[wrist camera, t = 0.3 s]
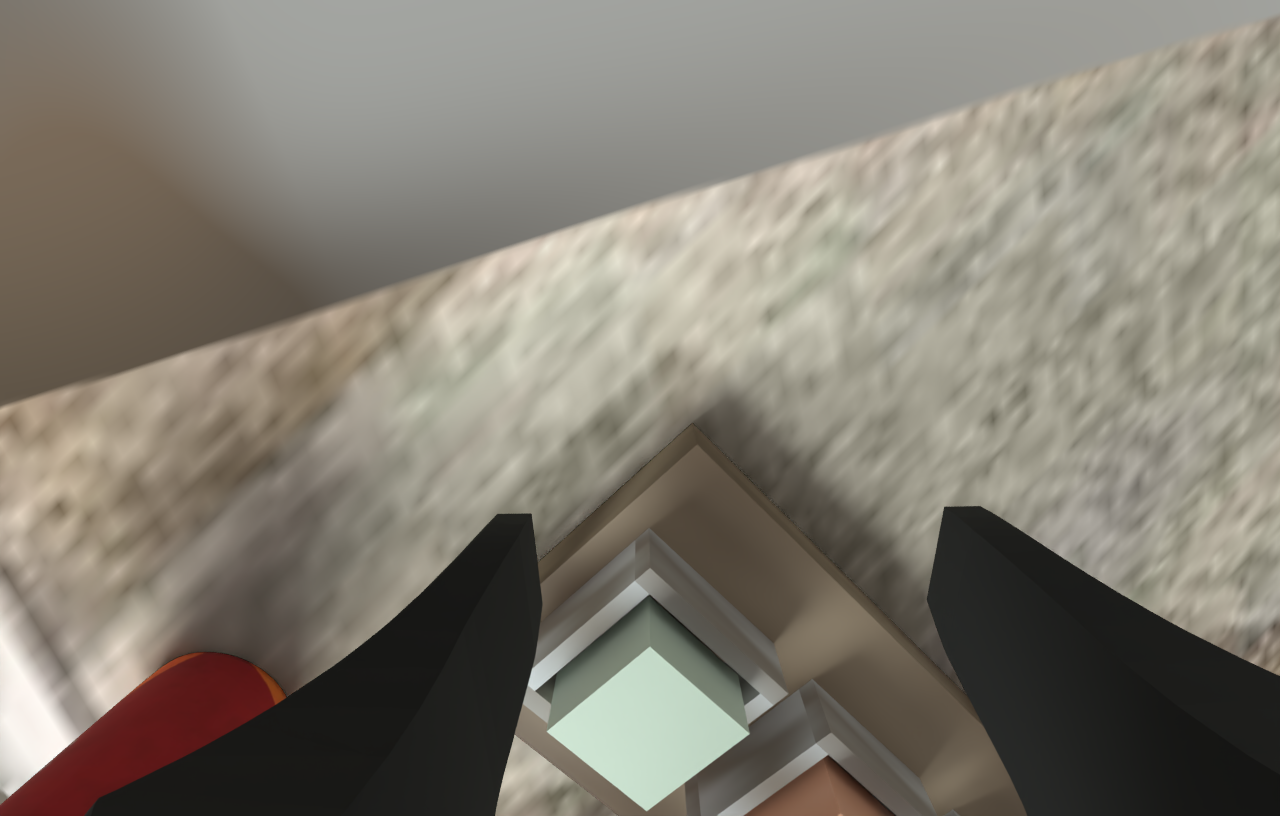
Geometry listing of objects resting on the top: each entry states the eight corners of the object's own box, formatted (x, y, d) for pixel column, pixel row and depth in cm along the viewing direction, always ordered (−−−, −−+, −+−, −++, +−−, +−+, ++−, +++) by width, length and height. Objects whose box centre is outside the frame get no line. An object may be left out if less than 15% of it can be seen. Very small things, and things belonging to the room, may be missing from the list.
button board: (863, 967, 30) (898, 1092, 26) (454, 638, 25) (416, 727, 21) (1094, 822, 28) (1175, 935, 23) (692, 423, 22) (703, 475, 18)
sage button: (645, 746, 22) (646, 811, 20) (556, 673, 21) (546, 731, 19) (738, 675, 21) (749, 733, 19) (648, 595, 20) (649, 646, 18)
